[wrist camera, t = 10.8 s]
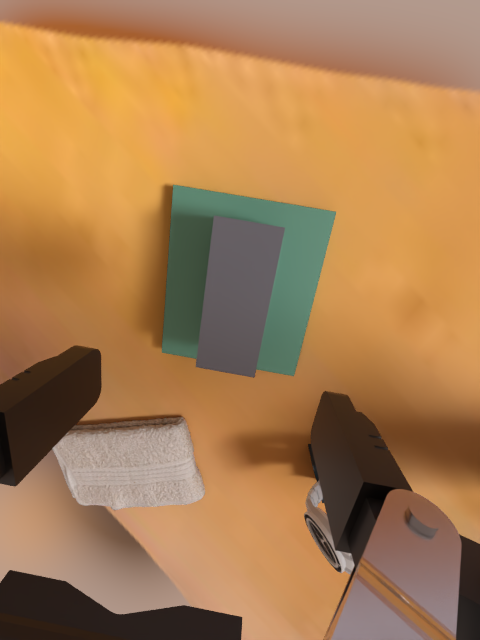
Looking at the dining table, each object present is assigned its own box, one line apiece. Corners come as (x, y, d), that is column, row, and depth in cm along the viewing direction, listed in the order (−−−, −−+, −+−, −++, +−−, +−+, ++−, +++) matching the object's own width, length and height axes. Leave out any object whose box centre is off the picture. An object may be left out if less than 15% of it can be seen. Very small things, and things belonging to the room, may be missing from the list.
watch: (291, 447, 32) (306, 550, 22) (360, 435, 31) (410, 539, 21) (301, 481, 34) (319, 593, 23) (367, 472, 33) (417, 585, 22)
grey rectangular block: (222, 218, 23) (212, 215, 19) (280, 228, 23) (285, 227, 18) (206, 342, 27) (194, 366, 23) (255, 351, 27) (254, 377, 22)
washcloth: (54, 422, 34) (35, 440, 32) (188, 409, 32) (181, 427, 29) (85, 491, 38) (70, 513, 35) (208, 484, 36) (203, 506, 33)
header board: (332, 212, 24) (349, 208, 19) (292, 370, 29) (298, 395, 24) (177, 186, 24) (158, 177, 20) (165, 347, 29) (148, 368, 25)
